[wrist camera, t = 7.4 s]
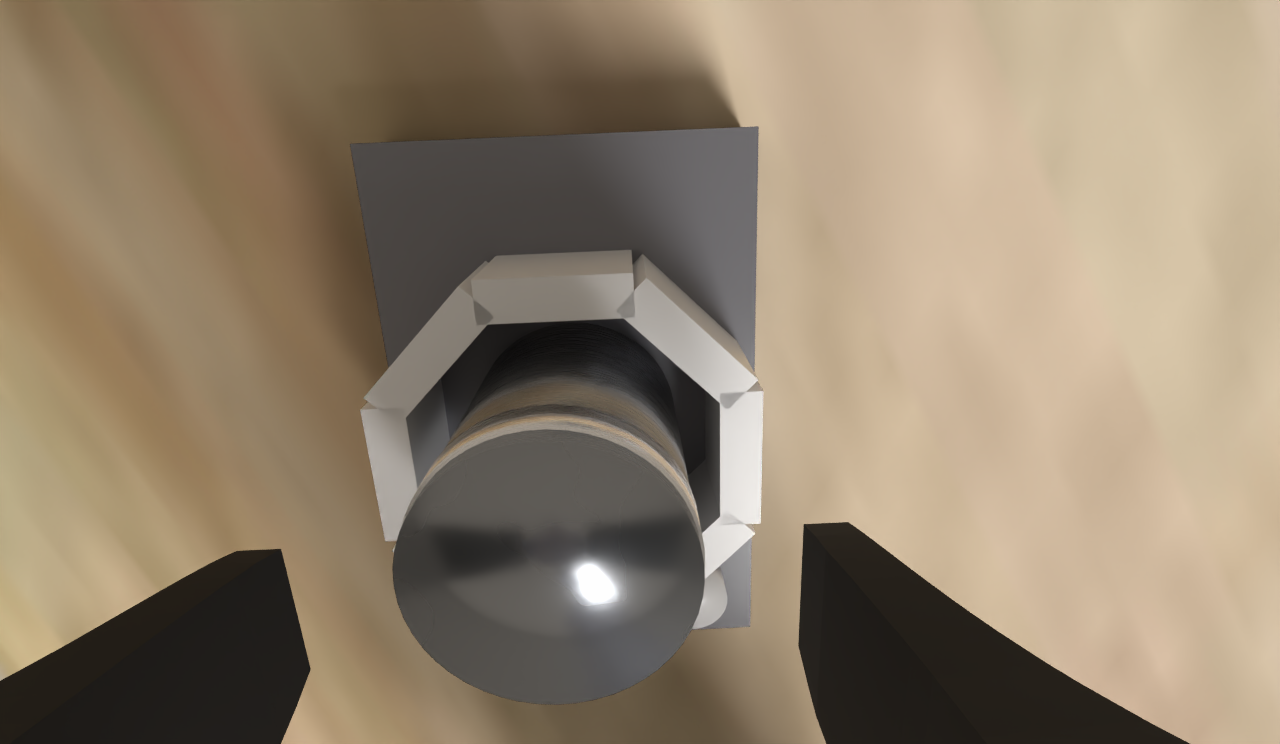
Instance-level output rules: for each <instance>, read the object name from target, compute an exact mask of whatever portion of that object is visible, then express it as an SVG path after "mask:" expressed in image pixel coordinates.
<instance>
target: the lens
mask: <svg viewBox="0 0 1280 744" xmlns="http://www.w3.org/2000/svg"><path fill="white" fill-rule="evenodd" d="M393 582H394V589H395V594H396V598H397V602H398V605H399V608H400V610H401V613H402V615H403V618H404V620H405V622H406V624H407V625H408V627H409V629H410V631H411V633H412V634H413V636H414V637H415V638H416V640H417V641H418V642H419V644H420V645H421V646H422V648H423V649H424V650H425V651H426V652H427V653H428V654H429V655H430V656H431V657H432V658H433V659H434V660H435V661H436V662H437V663H439V664H440V665H441V666H442V667H443V668H445V669H446V670H447V671H448V672H450V673H451V674H453V675H454V676H456V677H458V678H459V679H461V680H462V681H464V682H466V683H468V684H470V685H472V686H474V687H476V688H478V689H480V690H482V691H485V692H488V693H491V694H493V695H496V696H499V697H503V698H507V699H511V700H515V701H519V702H527V703H534V704H554V705H557V704H572V703H580V702H585V701H591V700H595V699H599V698H602V697H606V696H609V695H612V694H615V693H617V692H620V691H622V690H625V689H627V688H629V687H631V686H633V685H635V684H637V683H638V682H640V681H642V680H644V679H645V678H647V677H648V676H650V675H651V674H652V673H654V672H655V671H657V670H658V669H659V668H660V667H661V666H663V665H664V664H665V663H666V662H667V661H668V660H669V659H670V658H671V657H672V656H673V655H674V654H675V652H676V651H677V650H678V649H679V648H680V646H681V645H682V644H683V643H684V641H685V639H686V638H687V636H688V635H689V633H690V631H691V630H692V628H693V625H694V623H695V621H696V619H697V616H698V614H699V610H700V607H701V603H702V600H703V593H704V585H705V547H704V542H703V536H702V531H701V526H700V521H699V516H698V511H697V506H696V501H695V499H694V496H693V493H692V490H691V487H690V485H689V480H688V475H687V470H686V465H685V459H684V454H683V449H682V443H681V438H680V433H679V428H678V422H677V417H676V412H675V406H674V401H673V396H672V392H671V389H670V386H669V383H668V381H667V379H666V377H665V375H664V373H663V371H662V369H661V368H660V366H659V365H658V364H657V362H656V361H655V359H654V358H653V357H652V356H651V355H650V354H649V353H648V352H647V351H646V350H645V349H644V348H643V347H641V346H640V345H639V344H638V343H637V342H635V341H634V340H632V339H630V338H629V337H627V336H626V335H624V334H621V333H619V332H617V331H615V330H613V329H609V328H606V327H603V326H600V325H594V324H589V323H560V324H555V325H550V326H546V327H543V328H540V329H537V330H535V331H533V332H531V333H528V334H526V335H524V336H523V337H521V338H520V339H518V340H517V341H515V342H514V343H512V344H511V345H510V346H509V347H508V348H507V349H506V350H504V351H503V352H502V354H501V355H500V356H499V357H498V358H497V359H496V361H495V362H494V364H493V365H492V367H491V368H490V370H489V372H488V373H487V375H486V377H485V379H484V380H483V382H482V384H481V386H480V387H479V389H478V391H477V393H476V394H475V396H474V398H473V400H472V401H471V403H470V405H469V407H468V409H467V410H466V412H465V414H464V416H463V417H462V419H461V421H460V423H459V424H458V426H457V428H456V430H455V431H454V433H453V435H452V437H451V438H450V440H449V442H448V444H447V445H446V447H445V449H444V450H443V451H442V452H441V454H440V455H439V456H438V457H437V458H436V460H435V461H434V463H433V464H432V466H431V468H430V469H429V471H428V472H427V474H426V476H425V477H424V479H423V481H422V482H421V484H420V486H419V488H418V489H417V491H416V493H415V495H414V496H413V498H412V500H411V502H410V504H409V506H408V509H407V511H406V513H405V516H404V519H403V523H402V526H401V529H400V532H399V534H398V538H397V542H396V546H395V550H394V558H393Z"/></svg>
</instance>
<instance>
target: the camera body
mask: <svg viewBox="0 0 1280 744" xmlns="http://www.w3.org/2000/svg"><path fill="white" fill-rule="evenodd" d="M350 147H351V153H352V159H353V164H354V170H355V176H356V182H357V188H358V194H359V199H360V205H361V211H362V217H363V223H364V228H365V234H366V240H367V246H368V252H369V258H370V263H371V269H372V275H373V281H374V287H375V293H376V298H377V304H378V310H379V316H380V322H381V327H382V333H383V339H384V345H385V351H386V357H387V362H388V369H387V371H386V372H385V373H384V374H383V375H382V376H381V378H380V379H379V380H378V381H377V382H376V384H375V385H374V386H373V387H372V388H371V389H370V391H369V392H368V393H367V394H366V395H365V397H364V399H365V400H366V401H368V402H367V403H366V404H365V405H364V406H363V407H362V408H361V409H360V411H361V417H362V422H363V427H364V432H365V438H366V443H367V448H368V453H369V459H370V464H371V469H372V474H373V480H374V485H375V490H376V495H377V501H378V506H379V511H380V517H381V522H382V527H383V532H384V538H385V541H397V538H398V534H399V532H400V529H401V526H402V523H403V519H404V516H405V513H406V511H407V509H408V506H409V504H410V502H411V500H412V498H413V496H414V495H415V493H416V491H417V489H418V488H419V486H420V484H421V482H422V481H423V479H424V477H425V476H426V474H427V472H428V471H429V469H430V468H431V466H432V464H433V463H434V461H435V460H436V458H437V457H438V456H439V455H440V454H441V452H442V451H443V450H444V449H445V447H446V445H447V444H448V442H449V440H450V438H451V437H452V435H453V433H454V431H455V430H456V428H457V426H458V424H459V423H460V421H461V419H462V417H463V416H464V414H465V412H466V410H467V409H468V407H469V405H470V403H471V401H472V400H473V398H474V396H475V394H476V393H477V391H478V389H479V387H480V386H481V384H482V382H483V380H484V379H485V377H486V375H487V373H488V372H489V370H490V368H491V367H492V365H493V364H494V362H495V361H496V359H497V358H498V357H499V356H500V355H501V354H502V352H503V351H504V350H506V349H507V348H508V347H509V346H510V345H511V344H512V343H514V342H515V341H517V340H518V339H520V338H521V337H523V336H524V335H526V334H528V333H531V332H533V331H535V330H537V329H540V328H543V327H546V326H550V325H555V324H560V323H589V324H594V325H600V326H603V327H606V328H609V329H613V330H615V331H617V332H619V333H621V334H624V335H626V336H627V337H629V338H630V339H632V340H634V341H635V342H637V343H638V344H639V345H640V346H641V347H643V348H644V349H645V350H646V351H647V352H648V353H649V354H650V355H651V356H652V357H653V358H654V359H655V361H656V362H657V364H658V365H659V366H660V368H661V369H662V371H663V373H664V375H665V377H666V379H667V381H668V383H669V386H670V389H671V392H672V396H673V401H674V406H675V412H676V417H677V422H678V428H679V433H680V438H681V443H682V449H683V454H684V459H685V465H686V470H687V475H688V480H689V485H690V487H691V490H692V493H693V496H694V499H695V501H696V506H697V511H698V516H699V521H700V526H701V531H702V536H703V542H704V547H705V585H704V593H703V600H702V603H701V607H700V610H699V614H698V616H697V619H696V621H695V623H694V625H693V628H692V630H696V629H716V628H737V627H750V605H751V544H752V536H753V535H755V534H756V533H755V530H754V527H753V524H760V523H761V479H762V432H763V390H762V388H761V386H760V384H759V382H758V378H757V376H756V374H755V373H754V364H755V303H756V243H757V183H758V127H735V128H711V129H688V130H664V131H641V132H617V133H593V134H570V135H546V136H522V137H499V138H475V139H452V140H428V141H404V142H381V143H357V144H350ZM395 546H396V545H395ZM395 546H394V548H393V550H392V551H393V552H394V550H395Z"/></svg>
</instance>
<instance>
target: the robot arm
mask: <svg viewBox="0 0 1280 744" xmlns="http://www.w3.org/2000/svg"><path fill="white" fill-rule="evenodd" d="M799 650H800V654H801V658H802V662H803V666H804V670H805V674H806V678H807V683H808V686H809V690H810V694H811V698H812V702H813V705H814V709H815V713H816V717H817V719H818V722H819V725H820V728H821V730H822V733H823V736H824V738H825V741H826V744H1189V743H1188V742H1186V741H1184V740H1182V739H1180V738H1178V737H1176V736H1174V735H1172V734H1170V733H1168V732H1166V731H1165V730H1163V729H1161V728H1159V727H1157V726H1155V725H1153V724H1151V723H1149V722H1148V721H1146V720H1144V719H1142V718H1140V717H1139V716H1137V715H1135V714H1133V713H1132V712H1130V711H1128V710H1126V709H1124V708H1123V707H1121V706H1119V705H1117V704H1116V703H1114V702H1112V701H1110V700H1109V699H1107V698H1105V697H1103V696H1101V695H1100V694H1098V693H1096V692H1094V691H1093V690H1091V689H1089V688H1087V687H1086V686H1084V685H1082V684H1080V683H1079V682H1077V681H1075V680H1074V679H1072V678H1070V677H1069V676H1067V675H1065V674H1064V673H1062V672H1060V671H1059V670H1057V669H1055V668H1054V667H1052V666H1050V665H1049V664H1047V663H1046V662H1044V661H1043V660H1041V659H1039V658H1038V657H1036V656H1035V655H1033V654H1032V653H1030V652H1029V651H1027V650H1026V649H1024V648H1023V647H1021V646H1019V645H1018V644H1016V643H1015V642H1013V641H1012V640H1010V639H1009V638H1007V637H1006V636H1004V635H1003V634H1001V633H999V632H998V631H996V630H995V629H993V628H992V627H991V626H989V625H988V624H986V623H985V622H983V621H982V620H980V619H979V618H978V617H976V616H975V615H973V614H972V613H970V612H969V611H967V610H966V609H965V608H963V607H962V606H960V605H959V604H958V603H956V602H955V601H953V600H952V599H951V598H949V597H948V596H946V595H945V594H944V593H942V592H941V591H940V590H938V589H937V588H936V587H934V586H933V585H931V584H930V583H929V582H927V581H926V580H925V579H923V578H922V577H921V576H919V575H918V574H917V573H915V572H914V571H913V570H911V569H910V568H909V567H907V566H906V565H905V564H904V563H902V562H901V561H900V560H898V559H897V558H896V557H894V556H893V555H892V554H890V553H889V552H888V551H886V550H885V549H884V548H883V547H881V546H880V545H879V544H877V543H876V542H875V541H873V540H872V539H871V538H869V537H868V536H867V535H865V534H864V533H863V532H861V531H860V530H858V529H857V528H856V527H854V526H853V525H851V524H850V523H848V522H843V523H822V524H804V532H803V555H802V578H801V600H800V623H799ZM309 672H310V665H309V661H308V657H307V653H306V649H305V645H304V641H303V636H302V632H301V628H300V624H299V620H298V616H297V612H296V608H295V604H294V600H293V596H292V592H291V588H290V584H289V580H288V576H287V571H286V567H285V563H284V559H283V555H282V551H281V549H270V550H249V551H236V552H234V553H231V554H229V555H227V556H225V557H223V558H220V559H218V560H216V561H214V562H212V563H210V564H208V565H207V566H205V567H203V568H201V569H199V570H197V571H195V572H193V573H192V574H190V575H188V576H186V577H184V578H183V579H181V580H179V581H177V582H175V583H174V584H172V585H170V586H168V587H167V588H165V589H163V590H161V591H159V592H158V593H156V594H154V595H153V596H151V597H149V598H147V599H146V600H144V601H142V602H140V603H139V604H137V605H135V606H133V607H132V608H130V609H128V610H126V611H125V612H123V613H121V614H119V615H118V616H116V617H114V618H112V619H111V620H109V621H107V622H105V623H104V624H102V625H100V626H98V627H97V628H95V629H93V630H92V631H90V632H88V633H86V634H85V635H83V636H81V637H79V638H78V639H76V640H74V641H72V642H71V643H69V644H67V645H65V646H64V647H62V648H60V649H58V650H56V651H55V652H53V653H51V654H49V655H47V656H45V657H43V658H42V659H40V660H38V661H36V662H34V663H32V664H31V665H29V666H27V667H25V668H23V669H21V670H20V671H18V672H16V673H14V674H12V675H10V676H9V677H7V678H5V679H3V680H1V681H0V744H281V742H282V740H283V737H284V735H285V733H286V730H287V728H288V725H289V723H290V721H291V718H292V716H293V714H294V711H295V709H296V706H297V704H298V701H299V698H300V696H301V693H302V690H303V688H304V685H305V683H306V680H307V677H308V675H309Z"/></svg>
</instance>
